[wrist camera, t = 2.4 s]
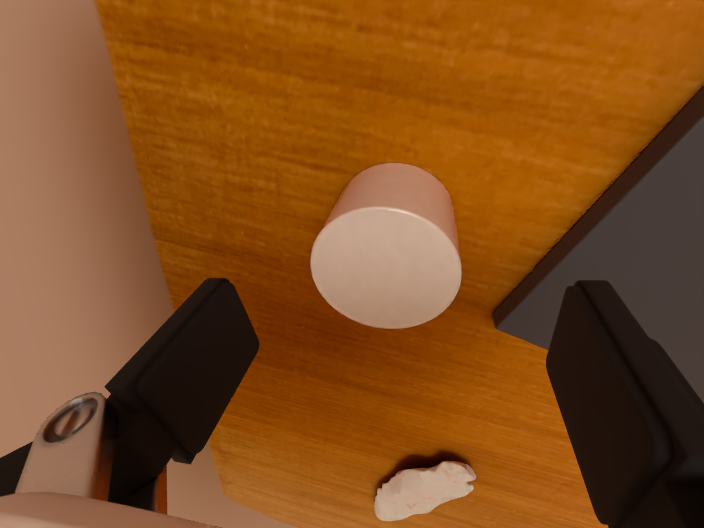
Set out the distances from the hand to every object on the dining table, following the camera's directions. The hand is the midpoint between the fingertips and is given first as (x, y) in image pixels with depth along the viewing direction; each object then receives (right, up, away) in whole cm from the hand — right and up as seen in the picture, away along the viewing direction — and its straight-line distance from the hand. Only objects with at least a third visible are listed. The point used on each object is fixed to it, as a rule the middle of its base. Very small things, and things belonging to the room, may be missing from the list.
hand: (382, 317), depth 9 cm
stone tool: (+5, -18, +19) cm, 26 cm away
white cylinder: (+1, +3, +4) cm, 6 cm away
